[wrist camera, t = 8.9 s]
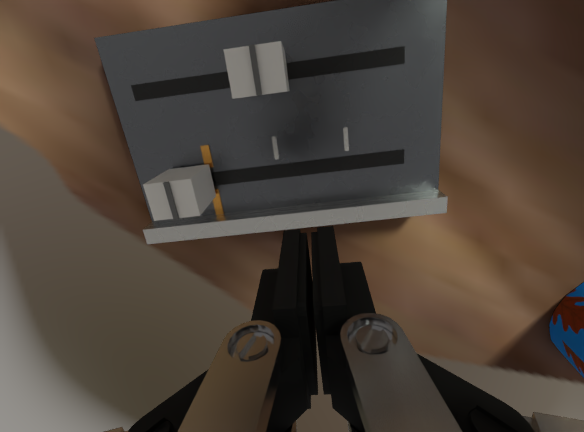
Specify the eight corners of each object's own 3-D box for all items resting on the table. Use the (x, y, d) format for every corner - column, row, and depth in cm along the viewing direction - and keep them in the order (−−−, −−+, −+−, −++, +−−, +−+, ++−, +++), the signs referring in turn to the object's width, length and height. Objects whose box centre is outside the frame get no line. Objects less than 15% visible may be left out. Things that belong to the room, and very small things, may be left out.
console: (434, -8, 20) (460, -27, 17) (427, 196, 25) (446, 212, 22) (111, 42, 22) (77, 33, 19) (166, 225, 27) (147, 244, 24)
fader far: (209, 164, 23) (189, 179, 19) (216, 195, 23) (199, 216, 20) (168, 169, 23) (141, 185, 19) (177, 200, 24) (152, 222, 20)
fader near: (284, 50, 20) (280, 40, 16) (289, 91, 21) (287, 91, 17) (237, 57, 20) (222, 49, 16) (244, 97, 21) (231, 98, 17)
